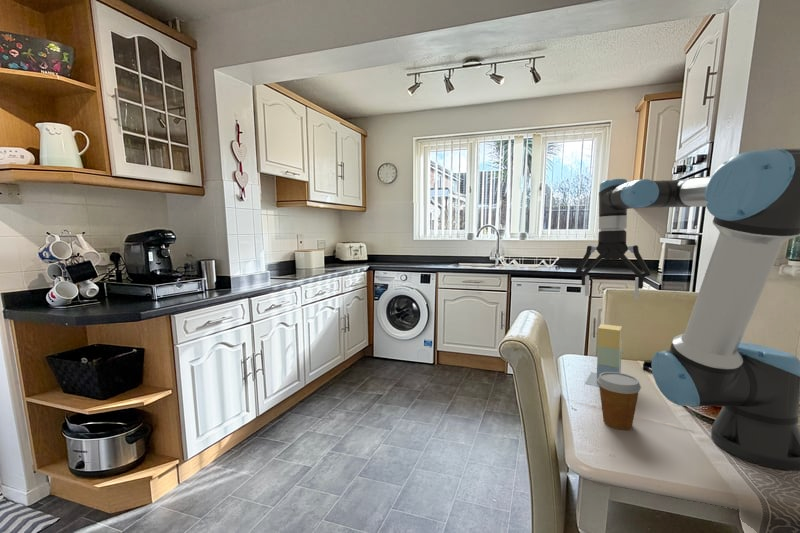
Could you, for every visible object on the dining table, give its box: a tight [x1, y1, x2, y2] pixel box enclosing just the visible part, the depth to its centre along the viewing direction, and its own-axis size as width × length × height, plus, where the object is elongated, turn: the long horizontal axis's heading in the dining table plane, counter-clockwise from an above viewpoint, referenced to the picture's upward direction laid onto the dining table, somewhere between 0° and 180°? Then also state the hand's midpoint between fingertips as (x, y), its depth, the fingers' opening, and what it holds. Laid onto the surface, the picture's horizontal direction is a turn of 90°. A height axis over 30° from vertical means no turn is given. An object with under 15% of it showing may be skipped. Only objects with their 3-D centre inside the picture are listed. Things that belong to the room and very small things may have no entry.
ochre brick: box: [597, 323, 623, 349], centre depth 113 cm, size 6×6×6 cm
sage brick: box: [596, 344, 623, 368], centre depth 113 cm, size 6×6×6 cm
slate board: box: [584, 371, 599, 388], centre depth 114 cm, size 12×12×1 cm
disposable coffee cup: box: [597, 372, 642, 431], centre depth 90 cm, size 10×10×12 cm
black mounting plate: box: [642, 359, 652, 371], centre depth 122 cm, size 12×7×5 cm, turn 24°
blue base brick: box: [596, 363, 622, 383], centre depth 113 cm, size 6×6×6 cm
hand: (610, 297), depth 111 cm, fingers open, 13 cm apart
